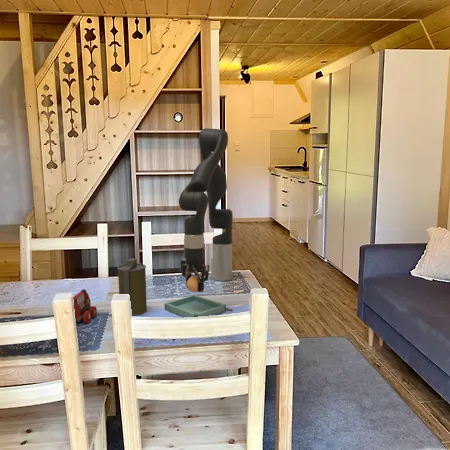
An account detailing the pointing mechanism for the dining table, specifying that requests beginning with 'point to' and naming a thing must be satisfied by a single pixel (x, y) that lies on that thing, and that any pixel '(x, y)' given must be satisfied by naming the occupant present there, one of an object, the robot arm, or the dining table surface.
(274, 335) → the dining table surface
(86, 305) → the toy fire truck
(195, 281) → the ball
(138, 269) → the canister
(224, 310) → the tray
